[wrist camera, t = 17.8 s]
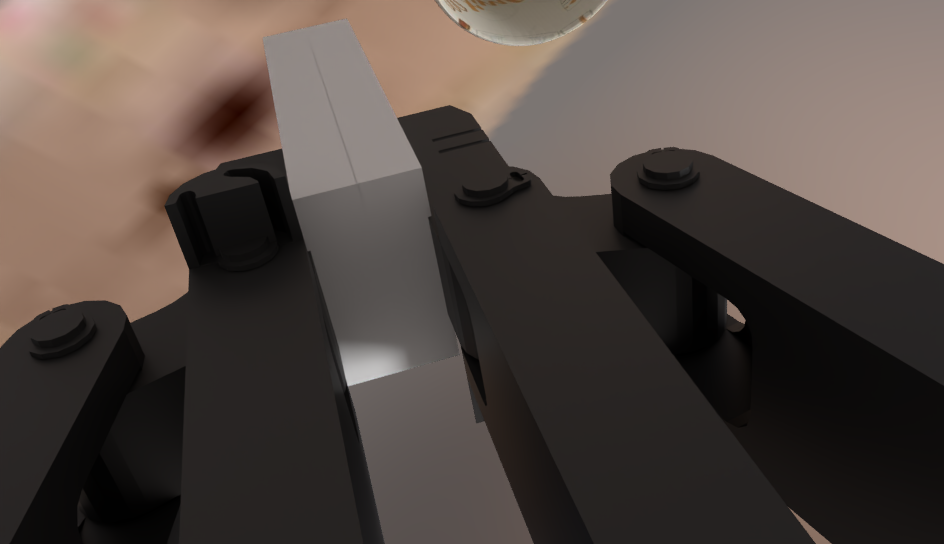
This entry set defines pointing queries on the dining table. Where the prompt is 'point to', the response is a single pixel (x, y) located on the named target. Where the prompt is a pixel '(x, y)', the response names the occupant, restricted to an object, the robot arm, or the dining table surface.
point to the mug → (519, 18)
